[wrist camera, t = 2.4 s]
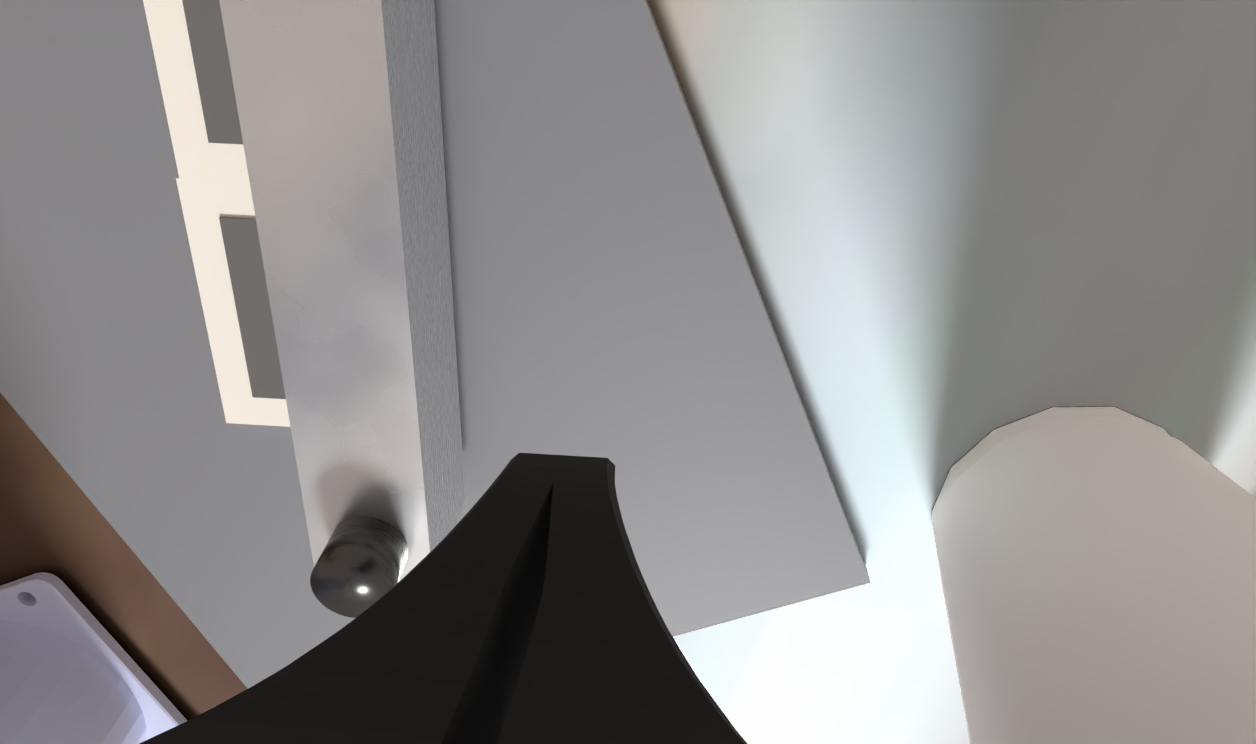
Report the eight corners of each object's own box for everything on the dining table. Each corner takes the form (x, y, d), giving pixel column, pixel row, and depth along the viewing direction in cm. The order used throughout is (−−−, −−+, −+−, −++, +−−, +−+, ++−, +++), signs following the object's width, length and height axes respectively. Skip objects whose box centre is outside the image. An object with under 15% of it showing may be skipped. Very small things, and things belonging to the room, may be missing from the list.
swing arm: (167, -638, 13) (-57, -863, 9) (447, -632, 13) (344, -859, 9) (332, 490, 22) (258, 619, 18) (495, 500, 22) (455, 631, 18)
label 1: (123, -152, 16) (109, -153, 16) (342, -144, 16) (332, -146, 16) (188, 173, 19) (177, 179, 19) (374, 182, 19) (367, 188, 19)
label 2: (185, 172, 19) (174, 178, 19) (371, 182, 19) (364, 188, 19) (233, 414, 22) (225, 424, 22) (396, 423, 22) (390, 434, 22)
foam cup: (1083, 269, 20) (1626, 787, 8) (1343, 485, 22) (2053, 1127, 11) (795, 538, 24) (898, 1143, 12) (1041, 699, 26) (1322, 1339, 15)
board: (298, 725, 28) (291, 740, 28) (-438, -171, 17) (-472, -173, 17) (865, 567, 24) (870, 582, 24) (363, -736, 13) (350, -761, 13)
